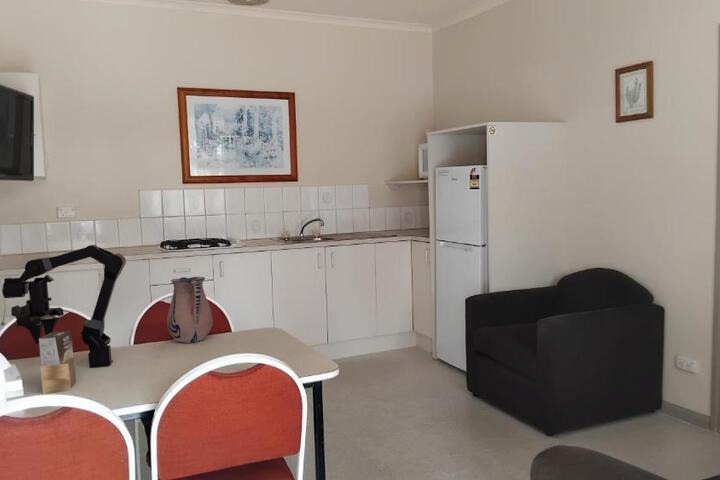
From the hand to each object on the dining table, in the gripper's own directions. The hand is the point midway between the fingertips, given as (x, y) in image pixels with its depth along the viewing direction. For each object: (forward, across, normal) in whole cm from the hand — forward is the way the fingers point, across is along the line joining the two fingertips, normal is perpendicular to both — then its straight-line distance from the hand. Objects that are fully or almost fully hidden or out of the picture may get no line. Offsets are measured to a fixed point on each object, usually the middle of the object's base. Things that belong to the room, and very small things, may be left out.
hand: (42, 341), depth 210 cm
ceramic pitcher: (+10, -36, +39) cm, 55 cm away
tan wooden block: (+10, +21, +17) cm, 29 cm away
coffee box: (+10, +19, +15) cm, 26 cm away
